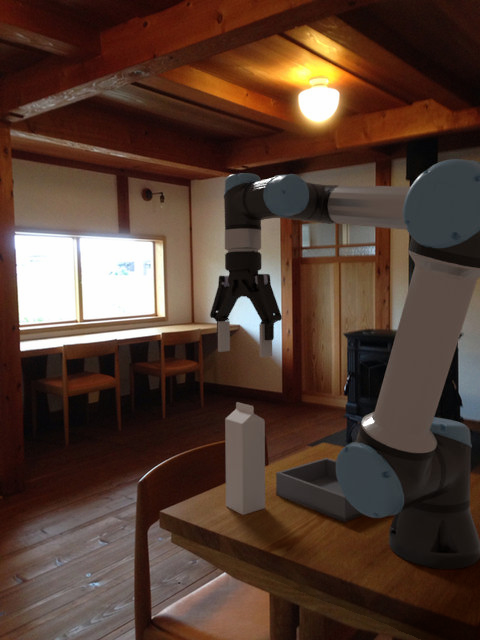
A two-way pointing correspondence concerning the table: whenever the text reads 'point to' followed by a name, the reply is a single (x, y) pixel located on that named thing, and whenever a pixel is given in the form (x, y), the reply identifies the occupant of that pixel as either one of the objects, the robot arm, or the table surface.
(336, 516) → the bin
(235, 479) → the milk
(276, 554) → the table surface
